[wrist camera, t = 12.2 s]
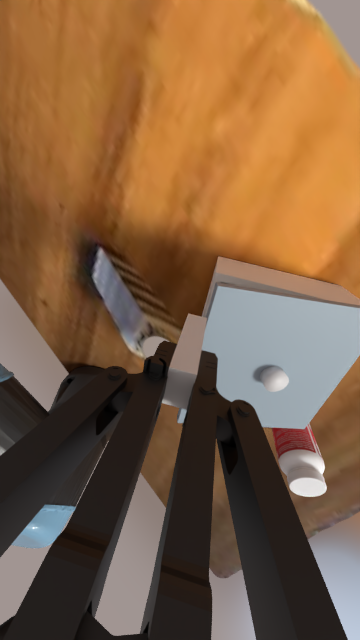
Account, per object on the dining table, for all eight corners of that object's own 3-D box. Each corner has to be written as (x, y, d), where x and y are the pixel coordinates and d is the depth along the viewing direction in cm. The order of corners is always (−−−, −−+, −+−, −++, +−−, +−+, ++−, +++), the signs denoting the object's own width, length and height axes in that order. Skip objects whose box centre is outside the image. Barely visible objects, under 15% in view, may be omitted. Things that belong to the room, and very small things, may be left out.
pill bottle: (262, 418, 41) (273, 483, 32) (290, 402, 38) (311, 468, 29) (286, 436, 42) (304, 504, 33) (315, 421, 39) (343, 492, 30)
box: (191, 351, 37) (183, 384, 30) (218, 256, 30) (215, 272, 23) (287, 377, 36) (301, 418, 29) (341, 285, 28) (378, 312, 21)
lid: (177, 416, 26) (178, 432, 25) (215, 282, 18) (221, 291, 16) (300, 423, 29) (309, 438, 27) (383, 309, 21) (403, 320, 19)
